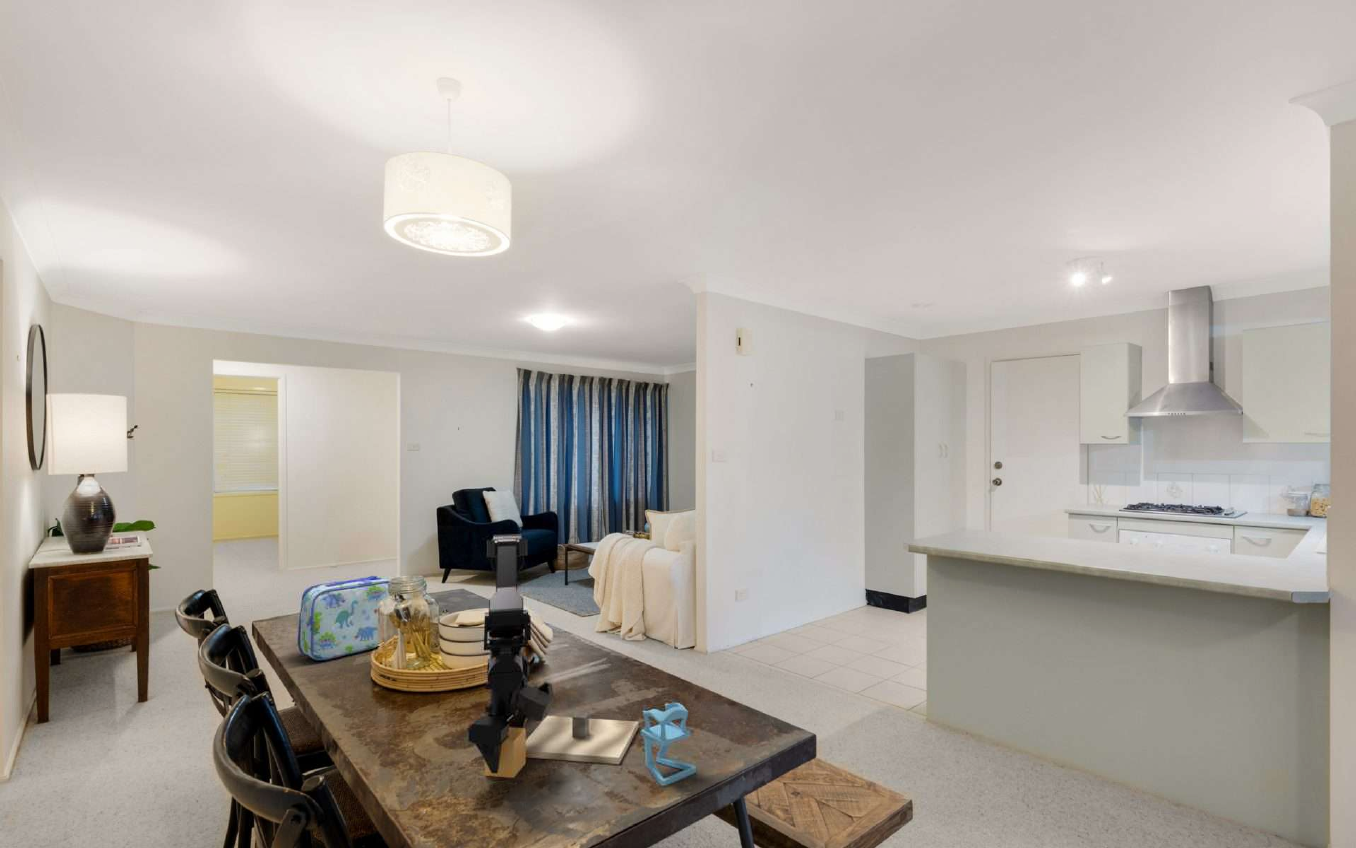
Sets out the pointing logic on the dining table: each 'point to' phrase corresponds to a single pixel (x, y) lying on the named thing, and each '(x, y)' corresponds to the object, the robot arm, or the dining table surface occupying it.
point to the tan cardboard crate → (511, 754)
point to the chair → (666, 740)
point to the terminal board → (581, 739)
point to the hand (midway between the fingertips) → (505, 760)
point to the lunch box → (340, 617)
